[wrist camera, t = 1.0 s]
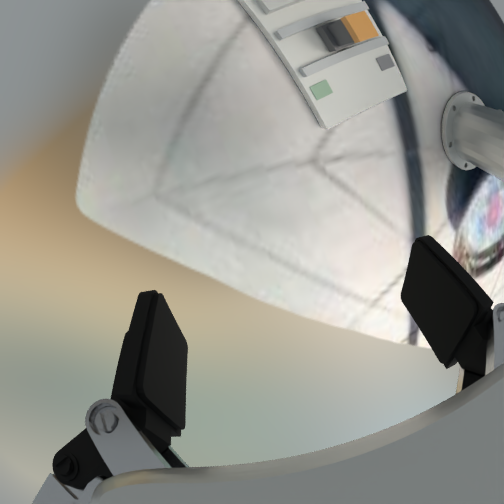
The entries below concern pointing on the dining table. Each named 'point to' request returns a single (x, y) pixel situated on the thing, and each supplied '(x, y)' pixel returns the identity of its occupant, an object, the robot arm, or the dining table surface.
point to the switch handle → (347, 31)
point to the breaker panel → (328, 57)
